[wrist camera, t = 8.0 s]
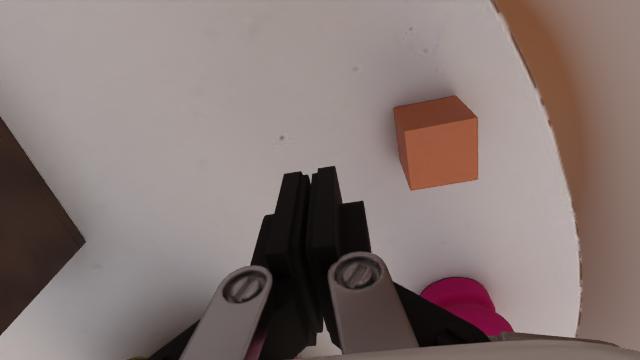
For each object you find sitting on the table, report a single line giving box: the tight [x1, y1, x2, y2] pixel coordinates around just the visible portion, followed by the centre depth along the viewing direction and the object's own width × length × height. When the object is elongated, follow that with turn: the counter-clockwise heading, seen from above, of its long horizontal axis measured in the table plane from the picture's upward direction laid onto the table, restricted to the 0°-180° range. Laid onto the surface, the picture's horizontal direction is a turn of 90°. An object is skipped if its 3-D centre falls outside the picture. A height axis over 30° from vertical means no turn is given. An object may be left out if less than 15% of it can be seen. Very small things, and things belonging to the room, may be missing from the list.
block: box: [394, 96, 478, 191], centre depth 23 cm, size 4×4×4 cm
